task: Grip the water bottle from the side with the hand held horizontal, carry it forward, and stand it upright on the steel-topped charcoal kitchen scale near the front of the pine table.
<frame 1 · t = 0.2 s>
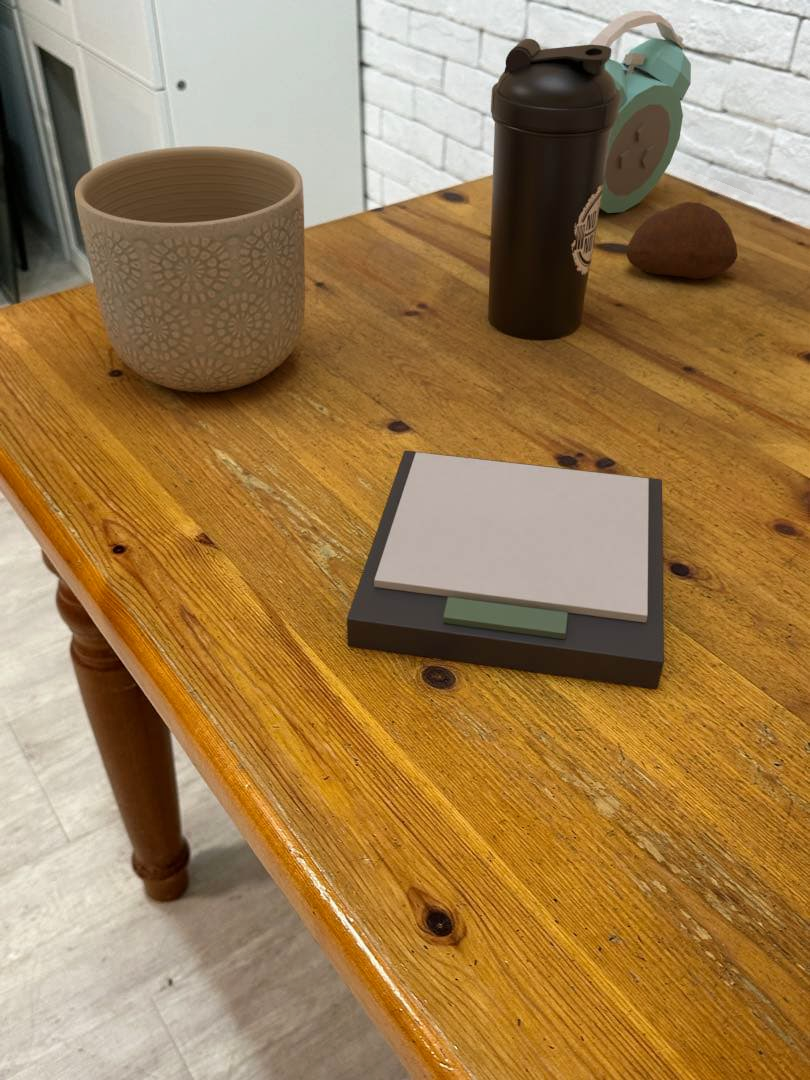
potato: (676, 274, 104), on the table
water bottle: (534, 320, 95), on the table
planter: (211, 365, 88), on the table
alarm clock: (602, 206, 118), on the table
scale: (515, 569, 67), on the table
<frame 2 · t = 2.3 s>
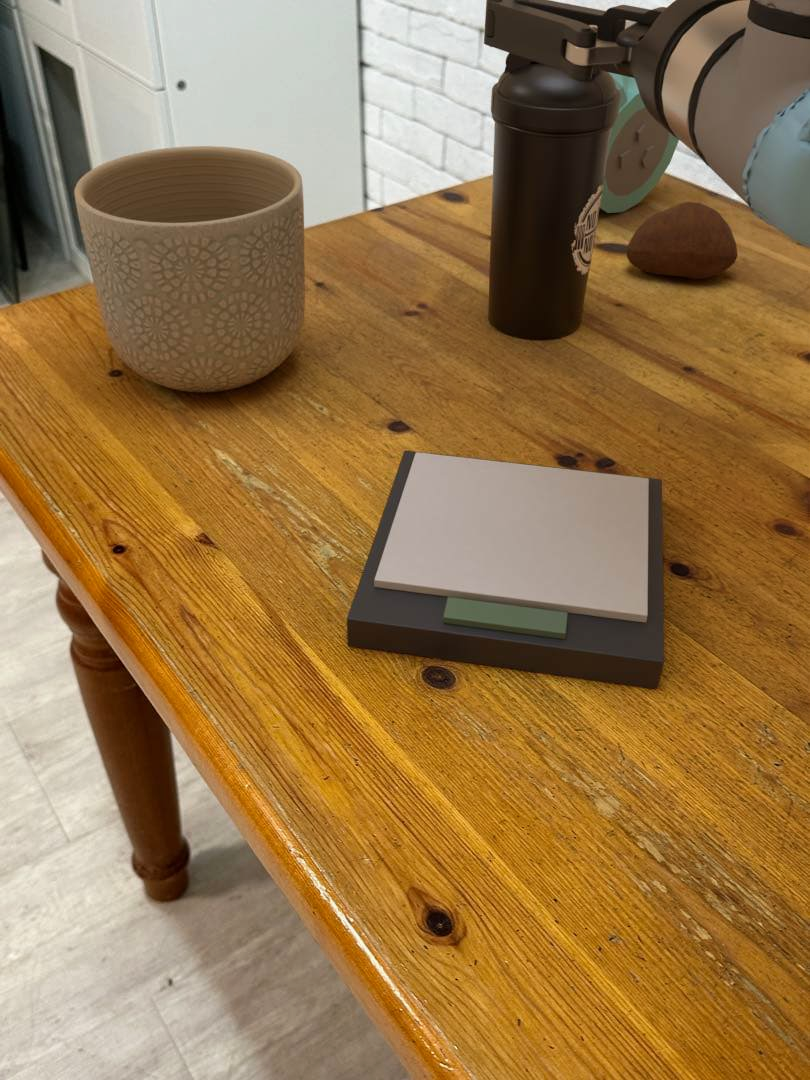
nothing on the table moved.
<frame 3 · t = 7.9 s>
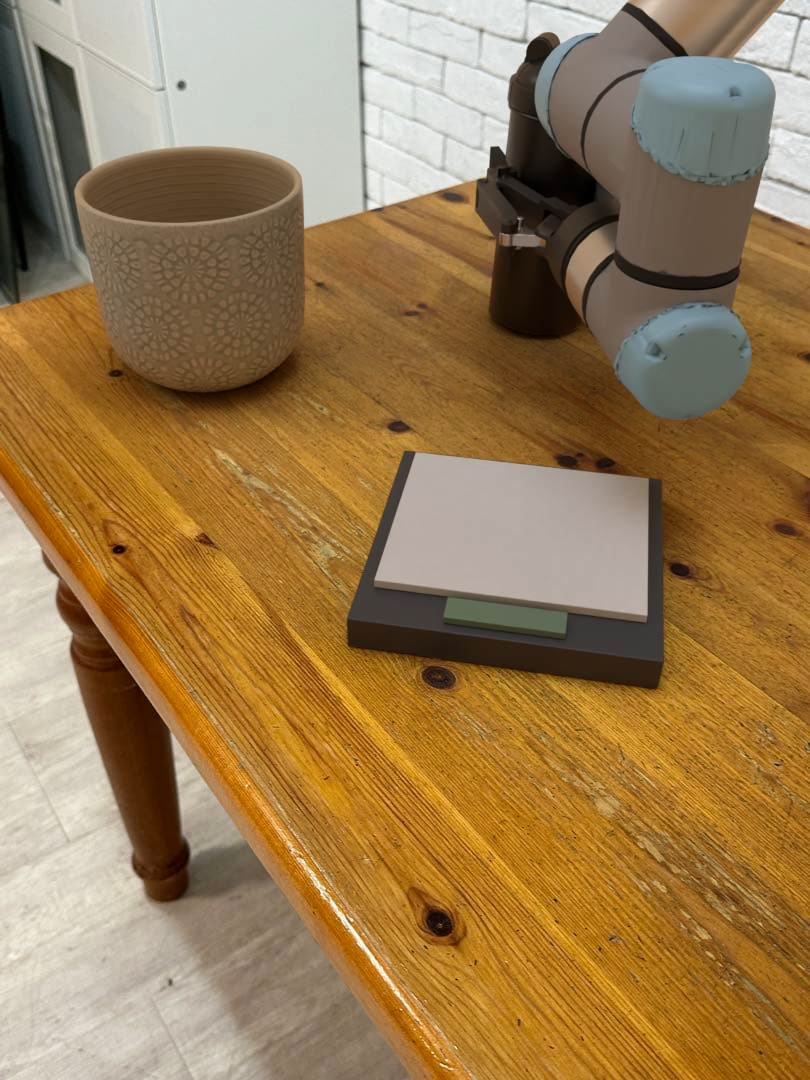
hand: (529, 160, 92), 13 cm above the table, tool horizontal, fingers closed on water bottle, 6 cm apart
water bottle: (534, 316, 95), on the table, touching gripper
everything else where it was.
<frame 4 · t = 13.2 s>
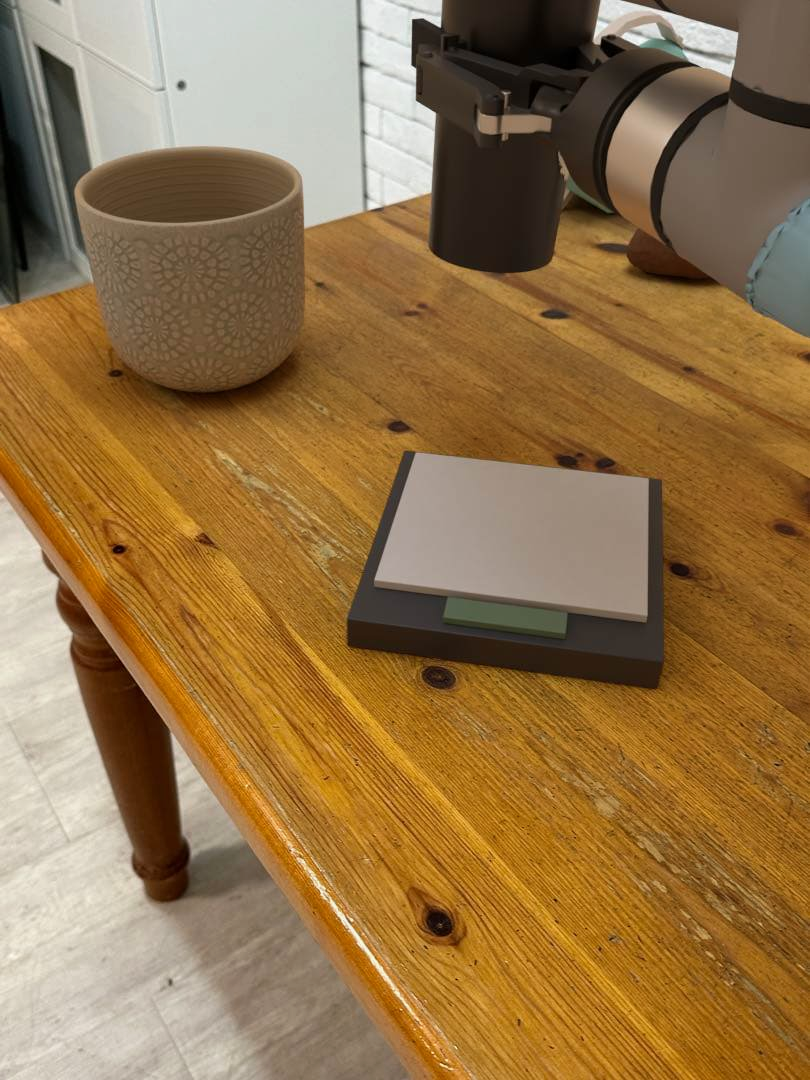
hand: (464, 38, 67), 27 cm above the table, tool horizontal, fingers closed on water bottle, 6 cm apart
water bottle: (490, 252, 71), point 14 cm above the table, touching gripper
everything else where it was.
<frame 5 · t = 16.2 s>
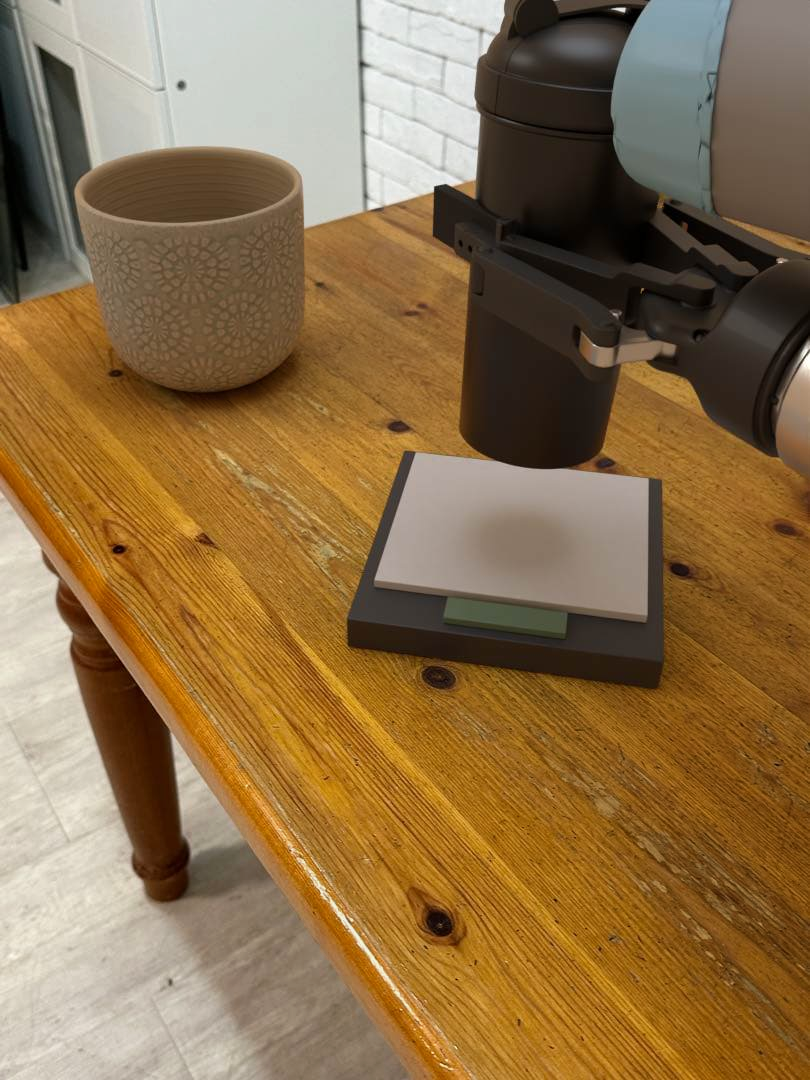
hand: (489, 199, 57), 23 cm above the table, tool horizontal, fingers closed on water bottle, 6 cm apart
water bottle: (530, 435, 61), point 10 cm above the table, touching gripper
everything else where it was.
when the fingers open (15 cm above the table, at t = 18.6 s): water bottle stays where it is, resting on scale.
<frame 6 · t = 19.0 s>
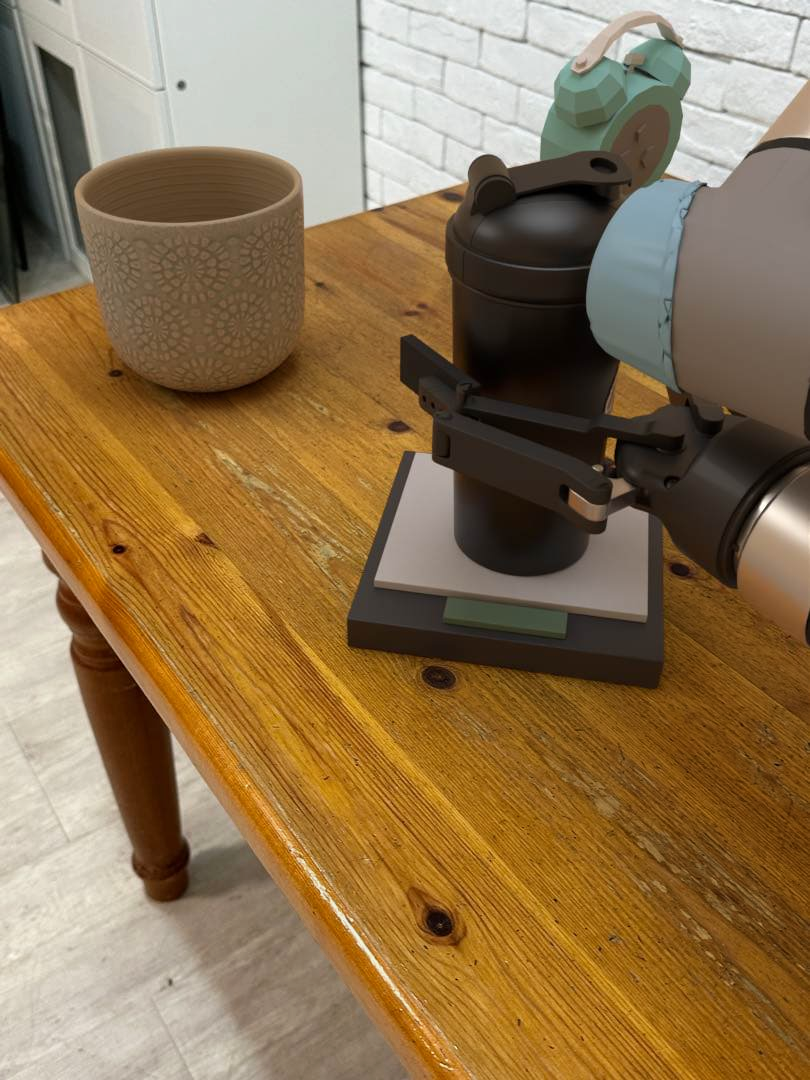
hand: (496, 330, 60), 15 cm above the table, tool horizontal, fingers open, 12 cm apart
water bottle: (520, 535, 66), point 3 cm above the table, touching scale
everything else where it was.
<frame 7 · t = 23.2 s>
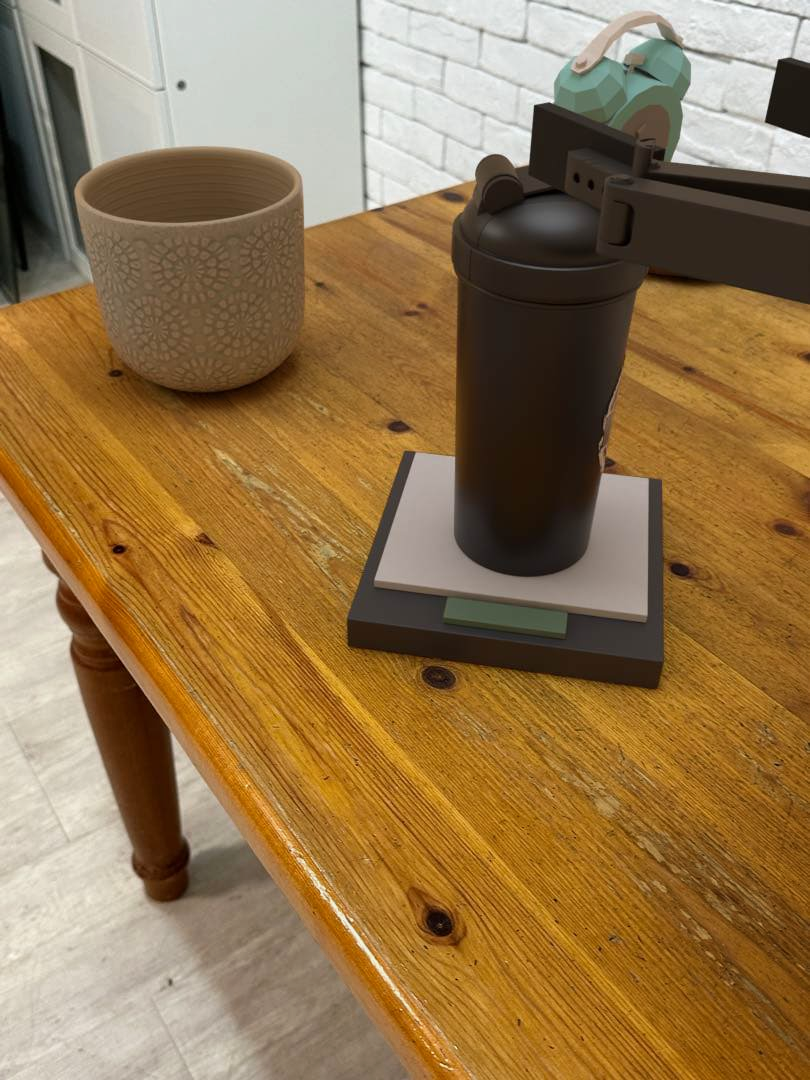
hand: (664, 112, 44), 30 cm above the table, tool horizontal, fingers open, 13 cm apart
nothing on the table moved.
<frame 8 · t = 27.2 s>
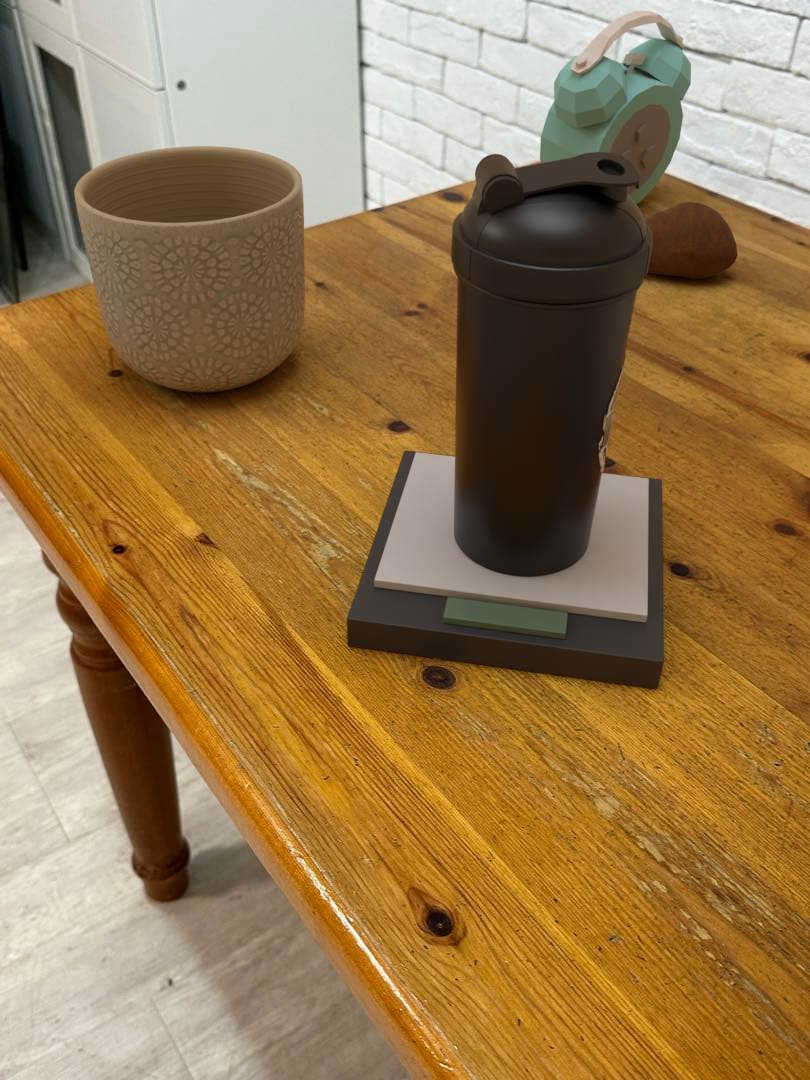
nothing on the table moved.
at the end: water bottle inside the target area on the scale (0.2 cm from its centre), point 2.6 cm above the scale's base; water bottle tilted 0°; the gripper is holding nothing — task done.
